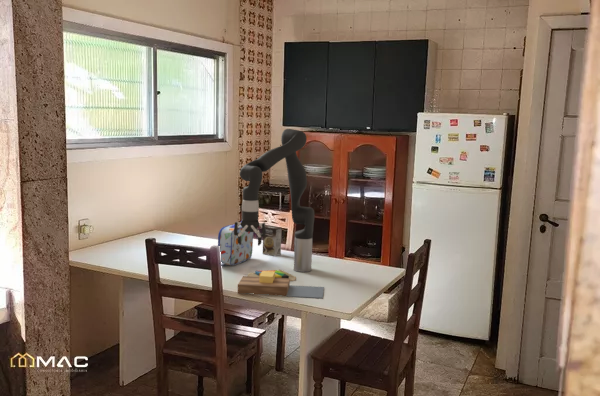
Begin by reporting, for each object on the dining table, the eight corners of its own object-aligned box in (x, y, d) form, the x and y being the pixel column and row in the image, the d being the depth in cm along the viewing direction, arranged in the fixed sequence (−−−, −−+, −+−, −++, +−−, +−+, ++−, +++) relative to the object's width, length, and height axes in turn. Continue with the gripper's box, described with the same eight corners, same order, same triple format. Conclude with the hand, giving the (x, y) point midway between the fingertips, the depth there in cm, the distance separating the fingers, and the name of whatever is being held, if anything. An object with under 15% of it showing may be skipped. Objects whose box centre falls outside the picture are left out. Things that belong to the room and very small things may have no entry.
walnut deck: (243, 284, 260) (243, 276, 260) (289, 286, 259) (289, 278, 258) (237, 293, 247) (237, 284, 246) (286, 295, 245) (286, 287, 245)
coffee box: (262, 254, 320) (262, 226, 318) (268, 252, 326) (269, 225, 324) (275, 256, 316) (275, 228, 313) (281, 254, 321) (282, 227, 319)
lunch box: (239, 255, 316) (240, 217, 313) (255, 257, 312) (256, 219, 309) (214, 266, 290) (215, 225, 287) (232, 269, 287) (232, 227, 284)
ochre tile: (262, 277, 259) (262, 270, 259) (274, 277, 259) (275, 271, 258) (259, 282, 250) (259, 276, 250) (272, 283, 250) (272, 276, 250)
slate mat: (289, 286, 260) (289, 285, 260) (323, 287, 259) (323, 286, 259) (286, 296, 244) (286, 295, 244) (322, 298, 243) (322, 297, 243)
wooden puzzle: (297, 281, 270) (297, 274, 269) (263, 286, 260) (263, 279, 259) (279, 272, 284) (279, 266, 284) (246, 277, 274) (246, 270, 274)
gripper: (266, 209, 254) (266, 243, 256) (236, 207, 254) (235, 242, 257) (264, 211, 246) (264, 247, 248) (233, 210, 247) (232, 245, 249)
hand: (249, 244), depth 253 cm, fingers open, 8 cm apart
